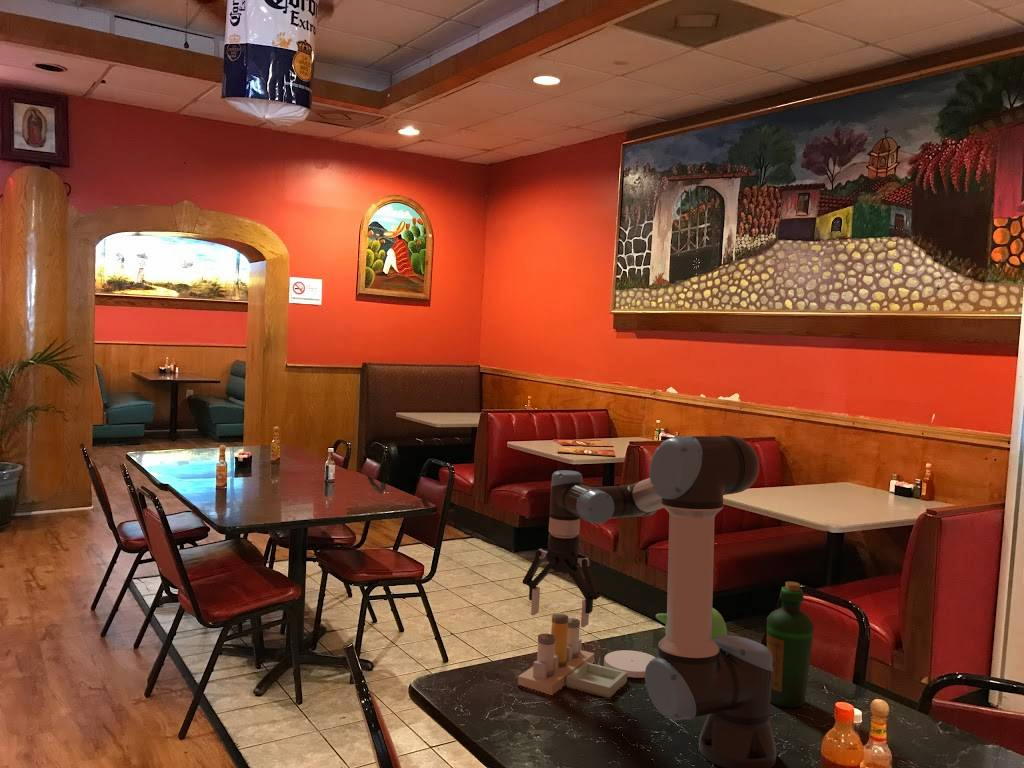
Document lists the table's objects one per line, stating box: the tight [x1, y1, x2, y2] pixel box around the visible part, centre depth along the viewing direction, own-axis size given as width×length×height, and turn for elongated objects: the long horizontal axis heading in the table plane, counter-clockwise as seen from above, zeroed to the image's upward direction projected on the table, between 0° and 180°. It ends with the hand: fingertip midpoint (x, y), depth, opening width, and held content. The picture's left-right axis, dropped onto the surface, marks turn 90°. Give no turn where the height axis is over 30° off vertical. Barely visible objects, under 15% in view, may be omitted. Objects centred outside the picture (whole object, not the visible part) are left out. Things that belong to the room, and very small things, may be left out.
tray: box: [565, 662, 628, 699], centre depth 202 cm, size 11×11×2 cm
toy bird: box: [655, 607, 728, 641], centre depth 223 cm, size 18×17×15 cm
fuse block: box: [517, 617, 596, 696], centre depth 207 cm, size 24×9×12 cm, turn 150°
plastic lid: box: [603, 649, 656, 679], centre depth 213 cm, size 14×14×2 cm
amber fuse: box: [550, 613, 569, 668], centre depth 207 cm, size 4×4×12 cm
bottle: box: [766, 581, 815, 709], centre depth 196 cm, size 11×11×28 cm
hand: (559, 619), depth 207 cm, fingers open, 13 cm apart
